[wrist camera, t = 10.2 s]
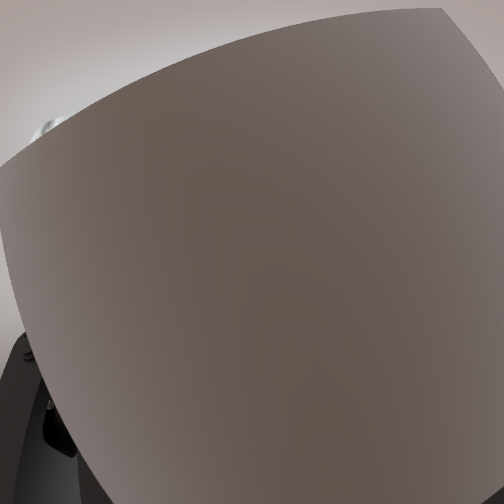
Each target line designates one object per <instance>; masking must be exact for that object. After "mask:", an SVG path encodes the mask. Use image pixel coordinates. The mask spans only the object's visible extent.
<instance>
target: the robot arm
mask: <svg viewBox="0 0 504 504" xmlns="http://www.w3.org/2000/svg"><path fill="white" fill-rule="evenodd" d="M49 400H50V403H49ZM48 403H49V405H48ZM0 504H114V503H113V502H112V500H111V499H110V498H109V496H108V495H107V493H106V492H105V491H104V489H103V488H102V486H101V485H100V483H99V482H98V480H97V479H96V477H95V476H94V474H93V472H92V471H91V469H90V468H89V466H88V464H87V463H86V461H85V460H84V458H83V456H82V455H81V453H80V451H79V449H78V448H77V446H76V444H75V442H74V441H73V439H72V437H71V435H70V433H69V431H68V430H67V428H66V426H65V424H64V422H63V420H62V418H61V416H60V414H59V412H58V410H57V408H56V406H55V404H54V401H53V399H52V397H51V395H50V393H49V391H48V388H47V386H46V384H45V381H44V379H43V377H42V374H41V372H40V369H39V367H38V364H37V362H36V359H35V357H34V354H33V351H32V348H31V346H30V343H29V340H28V337H27V334H26V332H24V333H23V334H22V335H21V336H20V337H19V338H18V339H17V341H16V343H15V344H14V346H13V349H12V351H11V353H10V356H9V358H8V361H7V363H6V367H5V369H4V371H3V374H2V377H1V380H0ZM481 504H504V486H503V487H502V488H501V489H500V490H498V491H497V492H496V493H495V494H493V495H492V496H491V497H489V498H488V499H487V500H485V501H484V502H483V503H481Z"/></svg>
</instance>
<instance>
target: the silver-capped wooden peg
mask: <svg viewBox="0 0 504 504" xmlns="http://www.w3.org/2000/svg"><path fill="white" fill-rule="evenodd" d="M0 229H1V235H2V241H3V247H4V251H5V257H6V261H7V266H8V270H9V275H10V279H11V283H12V287H13V291H14V294H15V298H16V302H17V305H18V309H19V312H20V316H21V319H22V322H23V325H24V328H25V331H26V334H27V337H28V340H29V343H30V346H31V348H32V351H33V354H34V357H35V359H36V362H37V364H38V367H39V369H40V372H41V374H42V377H43V379H44V381H45V384H46V386H47V388H48V391H49V393H50V395H51V397H52V399H53V401H54V404H55V406H56V408H57V410H58V412H59V414H60V416H61V418H62V420H63V422H64V424H65V426H66V428H67V430H68V431H69V433H70V435H71V437H72V439H73V441H74V442H75V444H76V446H77V448H78V449H79V451H80V453H81V455H82V456H83V458H84V460H85V461H86V463H87V464H88V466H89V468H90V469H91V471H92V472H93V474H94V476H95V477H96V479H97V480H98V482H99V483H100V485H101V486H102V488H103V489H104V491H105V492H106V493H107V495H108V496H109V498H110V499H111V500H112V502H113V503H114V504H481V503H483V502H484V501H485V500H487V499H488V498H489V497H491V496H492V495H493V494H495V493H496V492H497V491H498V490H500V489H501V488H502V487H503V486H504V90H503V88H502V86H501V85H500V83H499V82H498V80H497V79H496V77H495V76H494V74H493V73H492V72H491V70H490V69H489V67H488V65H487V64H486V63H485V61H484V60H483V58H482V57H481V56H480V54H479V53H478V52H477V50H476V49H475V48H474V46H473V45H472V44H471V43H470V41H469V40H468V39H467V38H466V36H465V35H464V34H463V33H462V31H461V30H460V29H459V28H458V27H457V25H456V24H455V23H454V22H453V21H452V20H451V18H450V17H449V16H448V15H447V14H446V13H445V12H444V11H443V10H442V8H419V9H417V8H416V9H397V10H385V11H374V12H367V13H358V14H351V15H344V16H337V17H331V18H326V19H320V20H316V21H310V22H306V23H301V24H296V25H292V26H288V27H284V28H280V29H276V30H272V31H268V32H264V33H261V34H257V35H254V36H250V37H247V38H244V39H241V40H237V41H234V42H232V43H228V44H225V45H223V46H219V47H217V48H214V49H211V50H208V51H205V52H203V53H200V54H197V55H195V56H192V57H190V58H187V59H185V60H182V61H180V62H177V63H175V64H172V65H170V66H168V67H165V68H163V69H161V70H159V71H157V72H154V73H152V74H150V75H148V76H146V77H144V78H141V79H139V80H137V81H135V82H133V83H131V84H129V85H127V86H125V87H123V88H121V89H119V90H118V91H115V92H114V93H112V94H110V95H108V96H106V97H104V98H103V99H101V100H99V101H97V102H95V103H94V104H92V105H90V106H88V107H87V108H85V109H83V110H82V111H80V112H78V113H77V114H75V115H73V116H72V117H70V118H69V119H67V120H65V121H64V122H62V123H61V124H59V125H58V126H56V127H55V128H53V129H52V130H50V131H49V132H47V133H46V134H44V135H43V136H41V137H40V138H38V139H37V140H36V141H34V142H33V143H31V144H30V145H29V146H27V147H26V148H25V149H23V150H22V151H21V152H19V153H18V154H17V155H16V156H14V157H13V158H11V159H10V160H9V161H7V162H6V163H5V164H4V165H2V166H1V167H0Z"/></svg>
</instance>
